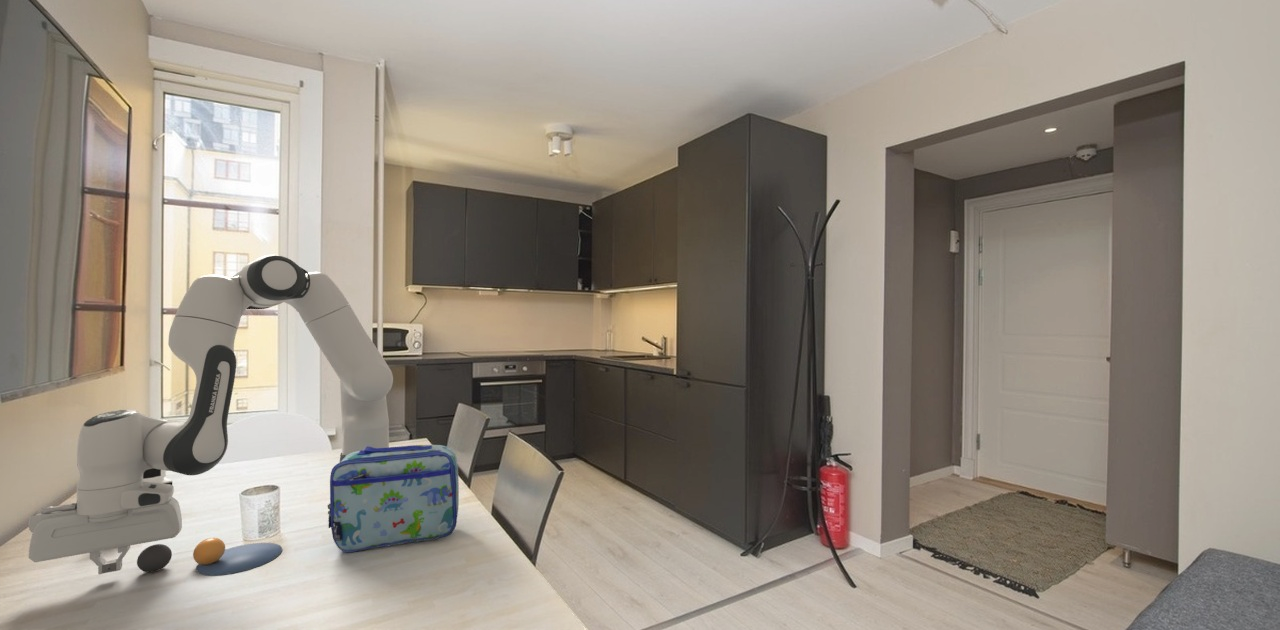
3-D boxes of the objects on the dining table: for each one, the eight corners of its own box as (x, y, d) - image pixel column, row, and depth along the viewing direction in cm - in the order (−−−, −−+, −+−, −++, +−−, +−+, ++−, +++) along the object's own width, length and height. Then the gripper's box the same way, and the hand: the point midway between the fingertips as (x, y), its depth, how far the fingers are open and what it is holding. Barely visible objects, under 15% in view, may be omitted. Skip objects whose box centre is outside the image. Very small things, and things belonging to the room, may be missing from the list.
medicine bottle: (135, 516, 129) (135, 468, 129) (126, 510, 133) (126, 463, 133) (172, 507, 135) (173, 461, 135) (162, 502, 139) (163, 457, 139)
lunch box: (323, 558, 107) (324, 457, 107) (337, 537, 118) (338, 444, 118) (456, 543, 115) (457, 448, 115) (459, 524, 125) (459, 437, 125)
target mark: (287, 539, 116) (287, 538, 116) (275, 566, 104) (275, 565, 104) (208, 551, 110) (208, 550, 110) (185, 581, 98) (185, 580, 98)
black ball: (139, 547, 103) (144, 572, 102) (130, 554, 98) (136, 580, 98) (171, 537, 105) (177, 561, 105) (164, 543, 101) (170, 568, 101)
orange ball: (198, 561, 106) (228, 555, 108) (190, 572, 101) (222, 565, 104) (196, 537, 106) (227, 531, 108) (188, 546, 101) (220, 540, 104)
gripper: (21, 515, 90) (21, 595, 90) (178, 492, 101) (178, 563, 101) (35, 504, 95) (35, 579, 95) (183, 484, 107) (183, 551, 106)
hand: (110, 571), depth 98 cm, fingers closed
